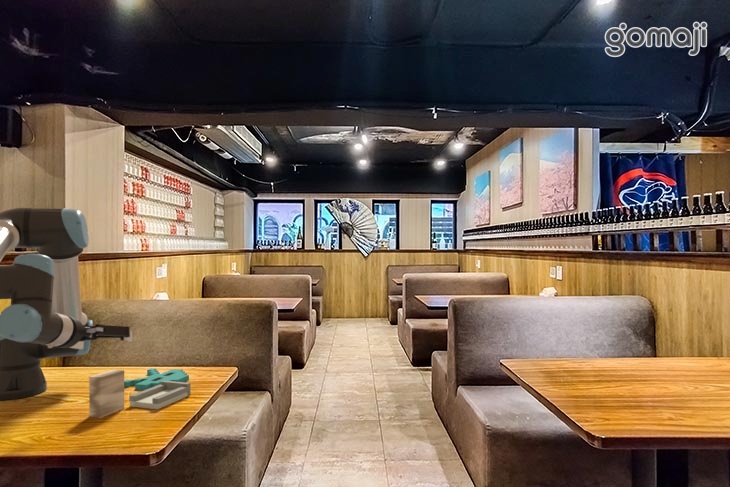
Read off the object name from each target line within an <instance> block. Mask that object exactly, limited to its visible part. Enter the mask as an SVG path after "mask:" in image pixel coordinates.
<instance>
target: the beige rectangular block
mask: <svg viewBox="0 0 730 487" xmlns="http://www.w3.org/2000/svg"><path fill="white" fill-rule="evenodd" d="M88 377H89V381H88V385H89V389H88V391H89V395H88V396H89V405H88V406H89V408H88V409H89V417H91V418H96V419H102V418H105V417H106V416H110V415H112V414H114V413H118V412H119V410H120V411H123V410H124V409H125V387H124V381H125V370H123V369H110V370H107V371H104V372H100V373H97V374H93V375H90V376H88ZM104 416H105V417H104Z"/></svg>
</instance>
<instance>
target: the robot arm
mask: <svg viewBox="0 0 730 487" xmlns="http://www.w3.org/2000/svg"><path fill="white" fill-rule="evenodd" d="M88 232H89V230H88V224H87V221H86V218H85V214H84V213H83V212H82V210H79V209H72V208H65V207H63V208H43V207H39V208H38V207H15V208H10V209H7V210H3V211H0V263H1V262H2V260H3V258H4V257H5V256H6V254H7V253H8V252H10V251H12V250H13V249H25V248H26V249H27V248H28V249H37V253H26V254H19V255H17V256H15V258H14V261H12V264H0V300H10V305H9V306H7V307H5V308H4V309H2V311H0V401H7V400H9V399H10V400H16V399H17V400H18V399H23V398H28V397H32V396H35V395H39V394H41V393H44V392H45V391H47V389H48V385H47V384H48V382H47V380H46V377H45V375H44V373H43V370H42V368H41V359H51V358H53V359H54V358H61V357H62V358H63V357H64V358H65V357H75V356H79V355H80V356H82V355H85V354H88V352H89V351H90V348H91V342H92V341H94V340H97V339H117V340H120V342H123V341H125V342H129V343H131V342H133V331H131V330H130V326H123V325H108V324H106V325H104V324H100V323H97V324H95V325H94V321H93V320H92V319H89V318H88V316H87V314H86V313H84V312H83V311H82V310H83V309H82V308H83V307H82V295H81V294H82V293H81V281H80V266H79V256H80V255H81V254H83V252H84V249H85V248H87V247H88V246H89V233H88Z"/></svg>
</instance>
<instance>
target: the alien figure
mask: <svg viewBox="0 0 730 487" xmlns="http://www.w3.org/2000/svg"><path fill="white" fill-rule="evenodd" d="M146 375H148V376H146V377H144V378H139V377H137V378H134V379H124V388H130V387H132V386H134V388H135V391H138V390H139V391H144V390H146V389H149V388H152V387H155V386H157V385H160V384H161V382H162V381H175V382H186V383H187V382H188V381H190V375H189V374H188V372H186V371H184V369H175V368H174V369H173V368H172V369H169V370H167V371H165V372H162V373H160V371H159V370H158V369H157V368H152V367H151V368H148V369H147V370H146Z"/></svg>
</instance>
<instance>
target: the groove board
mask: <svg viewBox="0 0 730 487" xmlns="http://www.w3.org/2000/svg"><path fill="white" fill-rule="evenodd" d="M189 396H191V382H187V381H186V382H175V381H162V382H161V384H160V385H157V386H155V387H152V388H149V389H146V390H140V391H138V392H136V393H133V394H130V395H129V396H128V398H129V399H128V402H129V407H134V408H135V407H136V408H143V409H151V410H160V409H161V408H164V407H166V406H169V405H171V404H173V403H176V402H178V401H180V400H183V399H185V398H186V397H189Z"/></svg>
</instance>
